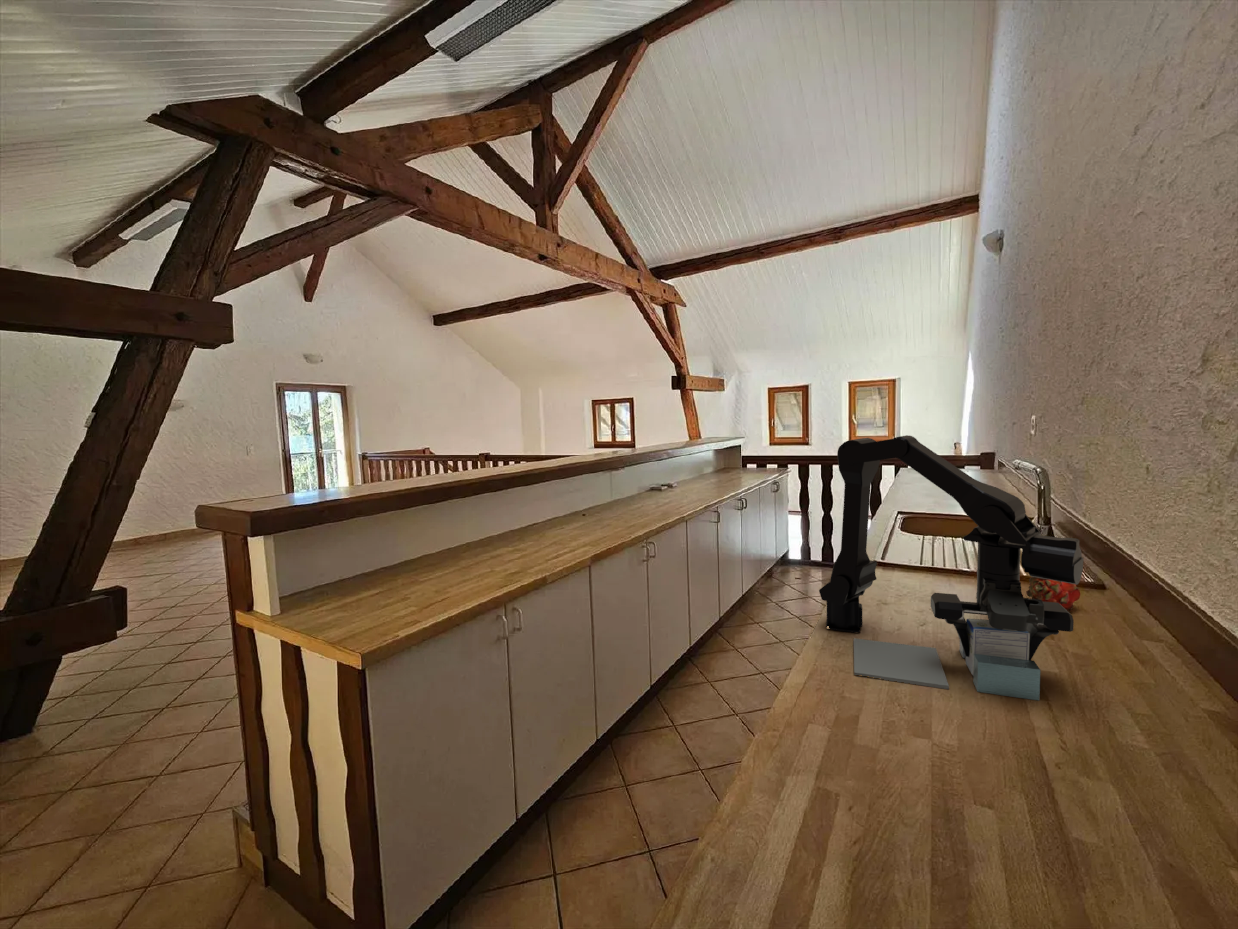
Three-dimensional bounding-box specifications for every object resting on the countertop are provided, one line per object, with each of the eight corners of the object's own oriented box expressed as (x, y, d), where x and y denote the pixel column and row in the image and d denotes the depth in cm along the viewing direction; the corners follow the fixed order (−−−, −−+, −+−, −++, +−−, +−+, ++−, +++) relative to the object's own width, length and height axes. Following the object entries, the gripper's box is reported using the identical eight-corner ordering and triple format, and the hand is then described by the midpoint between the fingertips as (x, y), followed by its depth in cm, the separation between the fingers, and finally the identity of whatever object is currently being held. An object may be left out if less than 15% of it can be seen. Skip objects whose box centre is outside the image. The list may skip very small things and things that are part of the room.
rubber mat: (854, 675, 90) (854, 672, 90) (853, 641, 103) (853, 638, 102) (948, 689, 84) (948, 686, 84) (935, 651, 97) (935, 648, 97)
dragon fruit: (1038, 621, 110) (1055, 614, 117) (1082, 607, 105) (1097, 600, 112) (1012, 584, 114) (1030, 579, 121) (1053, 568, 109) (1070, 564, 116)
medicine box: (1018, 669, 89) (1019, 621, 88) (1029, 683, 85) (1030, 632, 84) (964, 664, 92) (965, 617, 91) (972, 677, 87) (973, 627, 86)
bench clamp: (977, 691, 83) (978, 662, 83) (953, 636, 102) (953, 611, 102) (1039, 700, 80) (1040, 669, 79) (1002, 641, 99) (1002, 616, 99)
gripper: (940, 580, 83) (939, 673, 84) (1090, 591, 75) (1086, 693, 77) (930, 560, 93) (929, 644, 94) (1061, 568, 85) (1058, 659, 87)
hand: (995, 659), depth 88 cm, fingers closed on medicine box, 8 cm apart
